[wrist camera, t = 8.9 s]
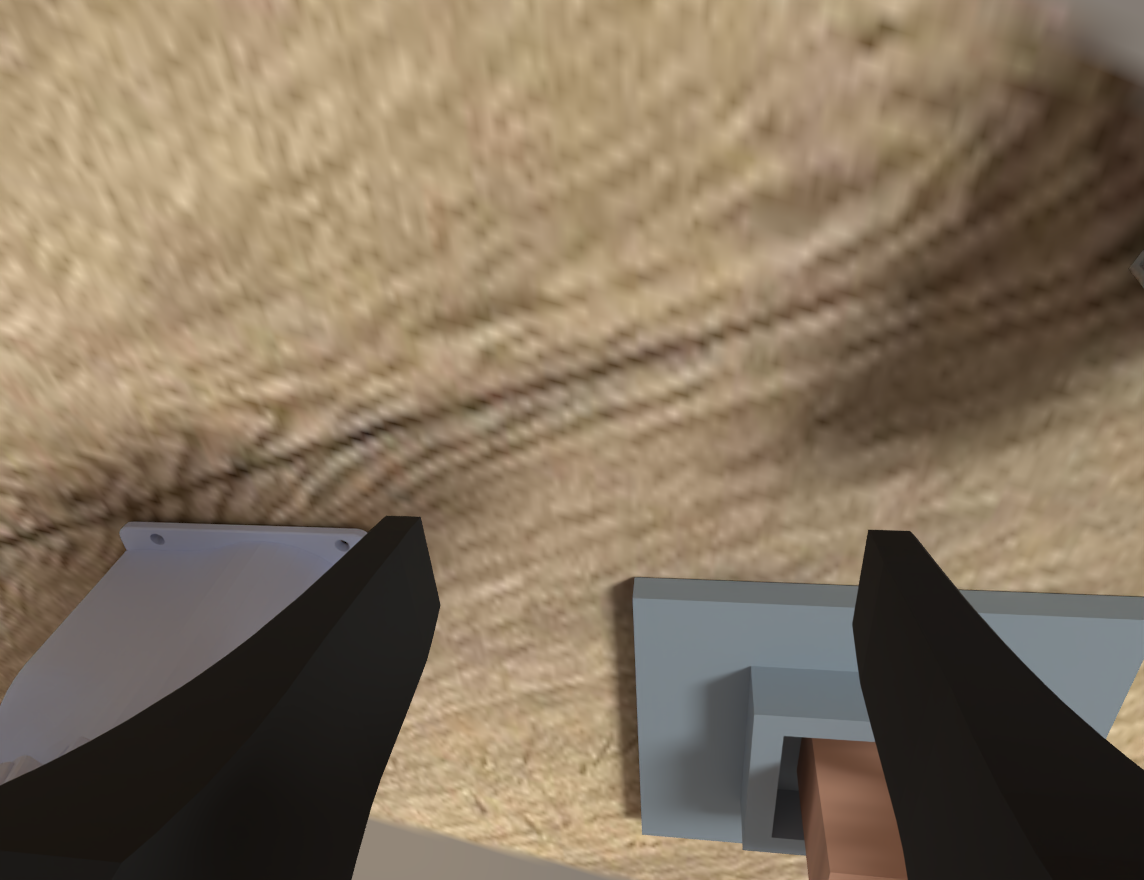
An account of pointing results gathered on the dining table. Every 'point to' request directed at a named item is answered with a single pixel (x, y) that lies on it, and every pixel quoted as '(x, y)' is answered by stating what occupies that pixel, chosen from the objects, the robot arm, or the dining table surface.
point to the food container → (1138, 268)
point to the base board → (814, 690)
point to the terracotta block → (847, 812)
